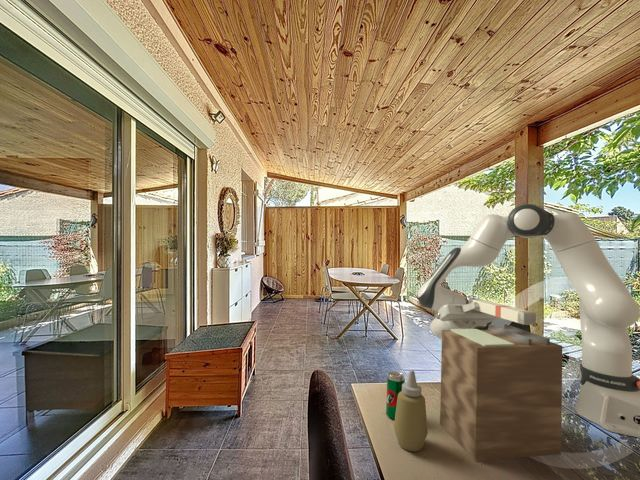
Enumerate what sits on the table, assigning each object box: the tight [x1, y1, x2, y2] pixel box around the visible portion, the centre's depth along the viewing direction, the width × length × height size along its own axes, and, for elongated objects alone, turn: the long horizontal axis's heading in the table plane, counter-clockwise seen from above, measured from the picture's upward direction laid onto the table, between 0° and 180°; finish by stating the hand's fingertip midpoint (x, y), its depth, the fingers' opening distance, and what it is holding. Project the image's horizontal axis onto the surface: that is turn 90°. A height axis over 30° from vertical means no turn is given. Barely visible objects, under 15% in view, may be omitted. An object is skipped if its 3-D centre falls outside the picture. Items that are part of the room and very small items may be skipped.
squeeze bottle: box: [393, 370, 429, 452], centre depth 76 cm, size 8×8×18 cm
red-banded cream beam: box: [468, 298, 537, 326], centre depth 89 cm, size 22×4×3 cm, turn 9°
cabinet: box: [439, 323, 563, 462], centre depth 80 cm, size 15×23×28 cm, turn 99°
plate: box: [451, 328, 515, 346], centre depth 80 cm, size 14×8×1 cm, turn 9°
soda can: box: [385, 371, 406, 421], centre depth 89 cm, size 5×5×12 cm
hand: (483, 304), depth 95 cm, fingers closed on red-banded cream beam, 3 cm apart
